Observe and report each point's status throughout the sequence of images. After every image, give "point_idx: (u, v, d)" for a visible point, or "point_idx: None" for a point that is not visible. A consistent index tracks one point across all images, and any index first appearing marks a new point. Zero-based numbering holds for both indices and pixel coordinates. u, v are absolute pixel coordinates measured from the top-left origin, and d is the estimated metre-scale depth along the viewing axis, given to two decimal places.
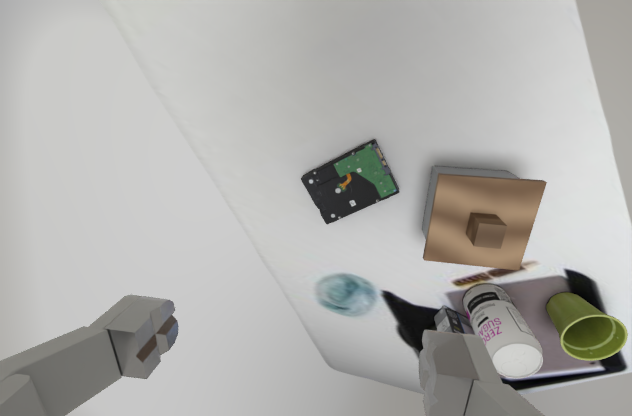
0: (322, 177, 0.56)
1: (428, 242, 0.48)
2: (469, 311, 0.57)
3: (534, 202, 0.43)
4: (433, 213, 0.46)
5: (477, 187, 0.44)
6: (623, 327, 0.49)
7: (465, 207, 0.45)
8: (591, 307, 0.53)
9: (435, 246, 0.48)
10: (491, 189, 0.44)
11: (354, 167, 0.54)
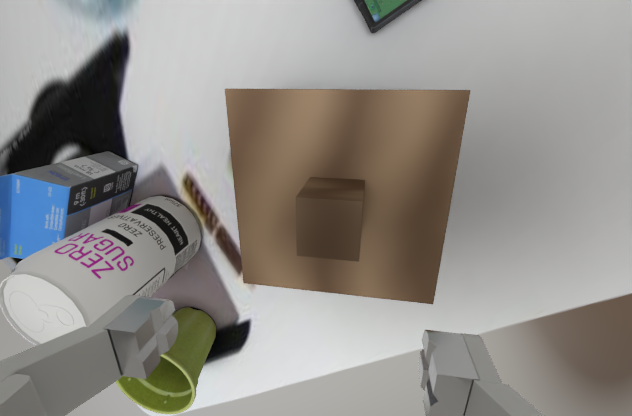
0: None
1: (275, 92, 0.18)
2: (137, 209, 0.30)
3: (390, 290, 0.22)
4: (358, 92, 0.18)
5: (429, 184, 0.19)
6: (182, 409, 0.33)
7: (376, 166, 0.19)
8: (201, 365, 0.35)
9: (267, 112, 0.19)
10: (422, 214, 0.19)
11: None
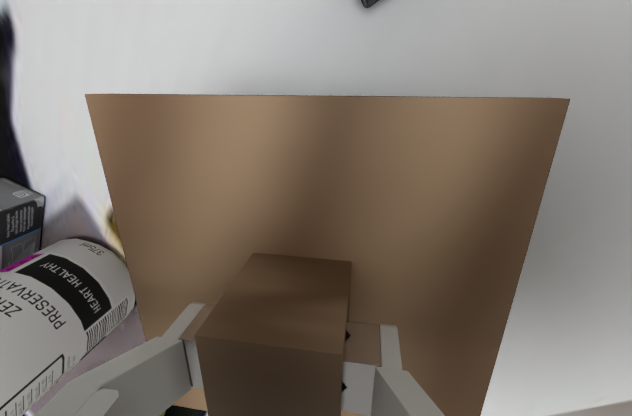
0: None
1: (177, 101, 0.09)
2: (28, 265, 0.21)
3: None
4: (336, 102, 0.09)
5: (472, 274, 0.10)
6: None
7: (372, 240, 0.10)
8: None
9: (167, 138, 0.10)
10: (455, 322, 0.11)
11: None
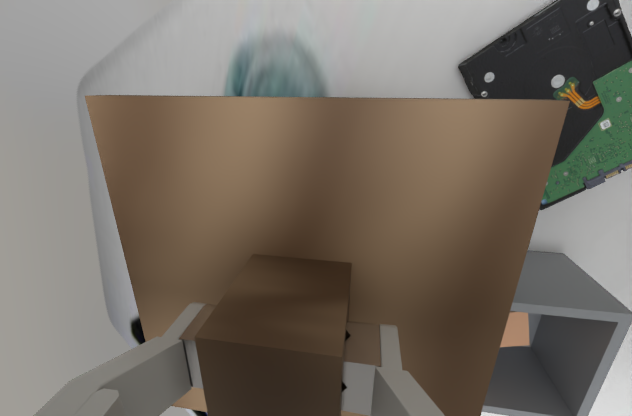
0: (596, 37, 0.23)
1: (177, 103, 0.09)
2: None
3: None
4: (335, 103, 0.09)
5: (472, 275, 0.10)
6: None
7: (372, 241, 0.10)
8: None
9: (166, 140, 0.10)
10: (455, 323, 0.11)
11: (613, 113, 0.24)
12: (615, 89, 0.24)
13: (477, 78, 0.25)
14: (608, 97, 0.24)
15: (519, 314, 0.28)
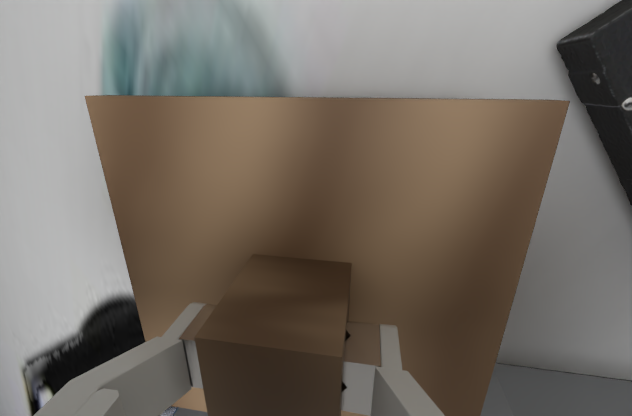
0: None
1: (177, 103, 0.09)
2: None
3: None
4: (335, 103, 0.09)
5: (472, 275, 0.10)
6: None
7: (372, 241, 0.10)
8: None
9: (166, 140, 0.10)
10: (455, 323, 0.11)
11: None
12: None
13: (617, 68, 0.11)
14: None
15: None
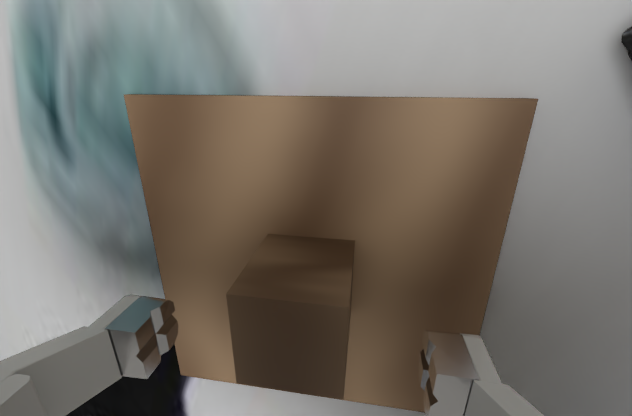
0: None
1: (205, 101, 0.11)
2: None
3: (394, 396, 0.15)
4: (342, 101, 0.10)
5: (459, 250, 0.12)
6: None
7: (373, 221, 0.12)
8: None
9: (194, 133, 0.12)
10: (445, 294, 0.12)
11: None
12: None
13: None
14: None
15: None
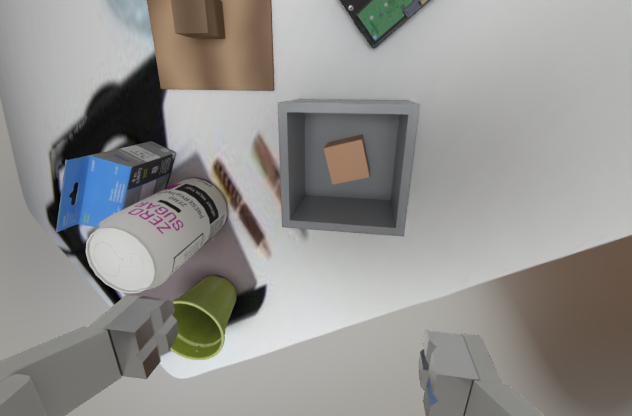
0: None
1: None
2: (179, 187, 0.37)
3: (247, 83, 0.35)
4: None
5: (257, 1, 0.32)
6: (212, 354, 0.40)
7: None
8: (227, 320, 0.42)
9: None
10: (256, 23, 0.33)
11: None
12: None
13: None
14: None
15: (355, 143, 0.31)
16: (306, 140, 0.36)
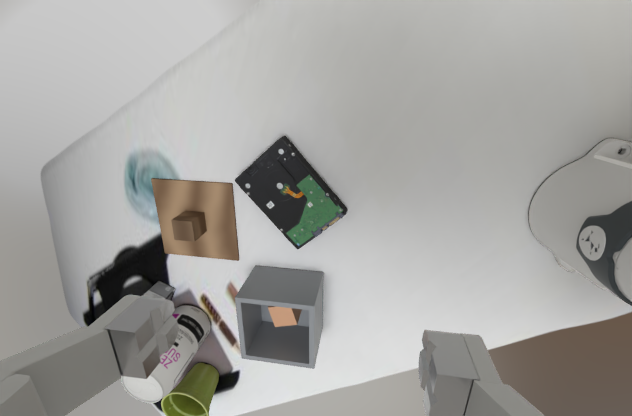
0: (290, 164, 0.45)
1: (169, 181, 0.51)
2: (177, 319, 0.56)
3: (221, 255, 0.54)
4: (196, 182, 0.50)
5: (226, 214, 0.51)
6: None
7: (207, 207, 0.51)
8: (211, 399, 0.61)
9: (167, 187, 0.51)
10: (226, 225, 0.52)
11: (311, 199, 0.46)
12: (307, 188, 0.46)
13: (242, 186, 0.47)
14: (306, 191, 0.46)
15: None
16: None
